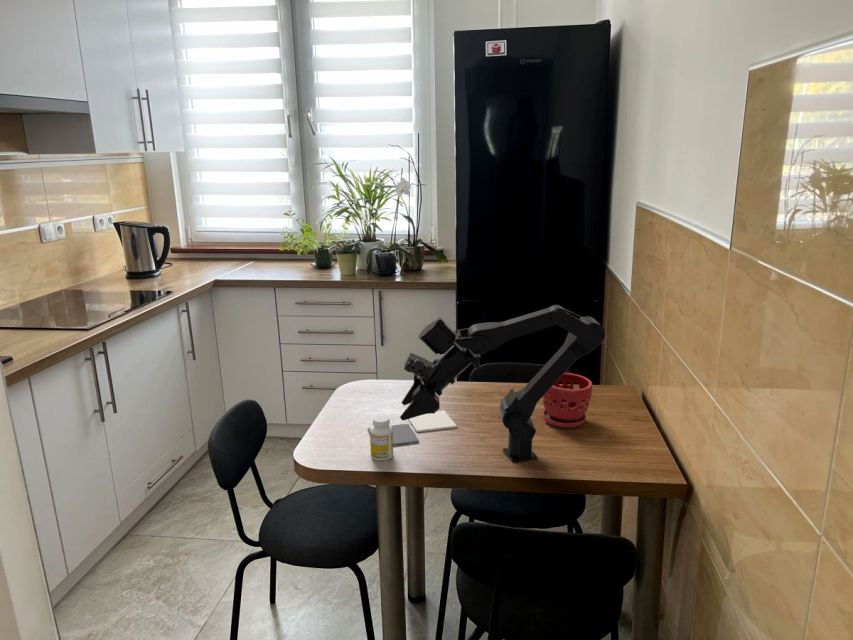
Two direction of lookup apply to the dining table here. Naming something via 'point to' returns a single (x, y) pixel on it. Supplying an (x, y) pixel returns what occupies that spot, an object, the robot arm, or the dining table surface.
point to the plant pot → (567, 401)
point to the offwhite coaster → (432, 422)
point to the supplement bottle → (381, 438)
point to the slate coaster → (402, 435)
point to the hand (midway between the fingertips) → (402, 411)
